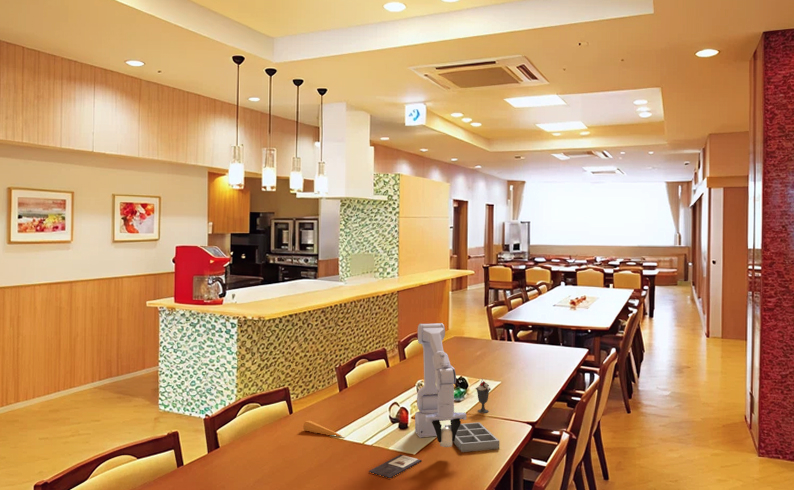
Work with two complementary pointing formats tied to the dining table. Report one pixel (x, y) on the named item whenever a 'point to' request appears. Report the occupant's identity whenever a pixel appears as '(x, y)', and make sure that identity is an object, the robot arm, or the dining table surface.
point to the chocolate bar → (395, 466)
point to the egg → (446, 437)
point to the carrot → (317, 428)
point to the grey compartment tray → (474, 438)
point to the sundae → (483, 395)
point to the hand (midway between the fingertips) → (446, 440)
